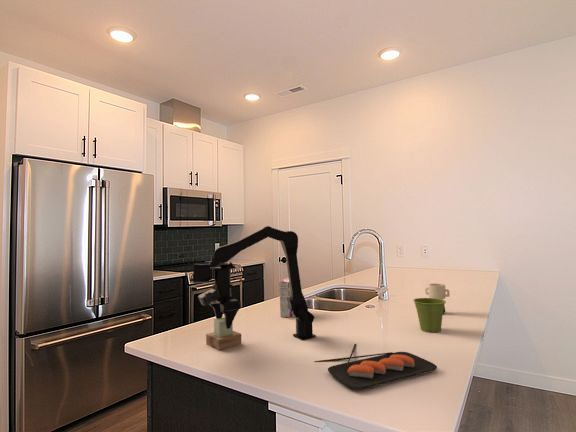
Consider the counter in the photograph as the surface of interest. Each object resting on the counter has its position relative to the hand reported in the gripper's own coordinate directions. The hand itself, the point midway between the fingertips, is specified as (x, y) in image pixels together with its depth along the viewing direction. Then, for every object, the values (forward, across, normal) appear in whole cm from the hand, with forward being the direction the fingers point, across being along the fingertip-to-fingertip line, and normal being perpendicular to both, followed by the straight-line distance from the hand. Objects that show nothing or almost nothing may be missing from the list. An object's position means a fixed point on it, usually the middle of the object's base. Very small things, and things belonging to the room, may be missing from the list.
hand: (223, 325), depth 120 cm
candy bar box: (+7, -22, +40) cm, 46 cm away
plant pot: (+7, +32, +72) cm, 79 cm away
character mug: (+7, +18, +97) cm, 99 cm away
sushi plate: (+7, +41, +29) cm, 51 cm away
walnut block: (+7, 0, 0) cm, 7 cm away
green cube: (+3, 0, 0) cm, 3 cm away
